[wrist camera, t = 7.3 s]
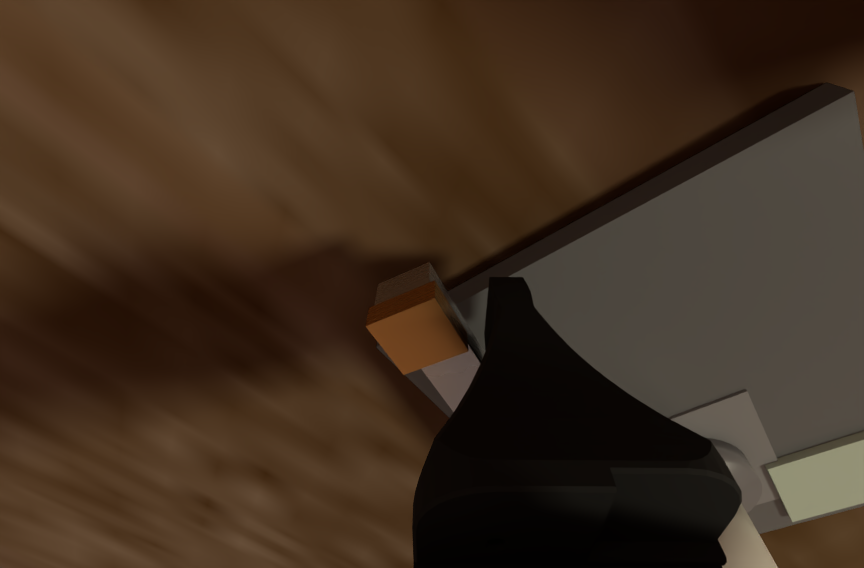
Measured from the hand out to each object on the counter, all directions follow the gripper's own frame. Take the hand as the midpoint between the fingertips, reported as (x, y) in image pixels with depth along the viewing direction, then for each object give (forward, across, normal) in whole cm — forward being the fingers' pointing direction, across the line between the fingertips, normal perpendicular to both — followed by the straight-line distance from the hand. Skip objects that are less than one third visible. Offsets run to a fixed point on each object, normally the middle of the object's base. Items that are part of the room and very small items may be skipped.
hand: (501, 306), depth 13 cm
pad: (+2, -15, +10) cm, 18 cm away
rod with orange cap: (0, 0, +5) cm, 5 cm away
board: (+2, -8, +7) cm, 10 cm away
